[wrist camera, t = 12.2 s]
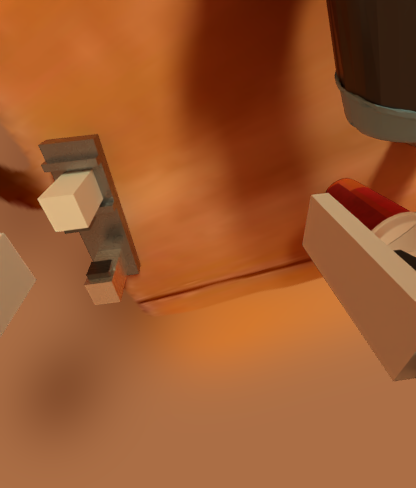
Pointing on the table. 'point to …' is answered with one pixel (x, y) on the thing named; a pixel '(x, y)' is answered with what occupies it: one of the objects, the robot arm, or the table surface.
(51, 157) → the rail
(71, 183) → the cream rectangular block
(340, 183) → the coffee cup
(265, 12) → the table surface
